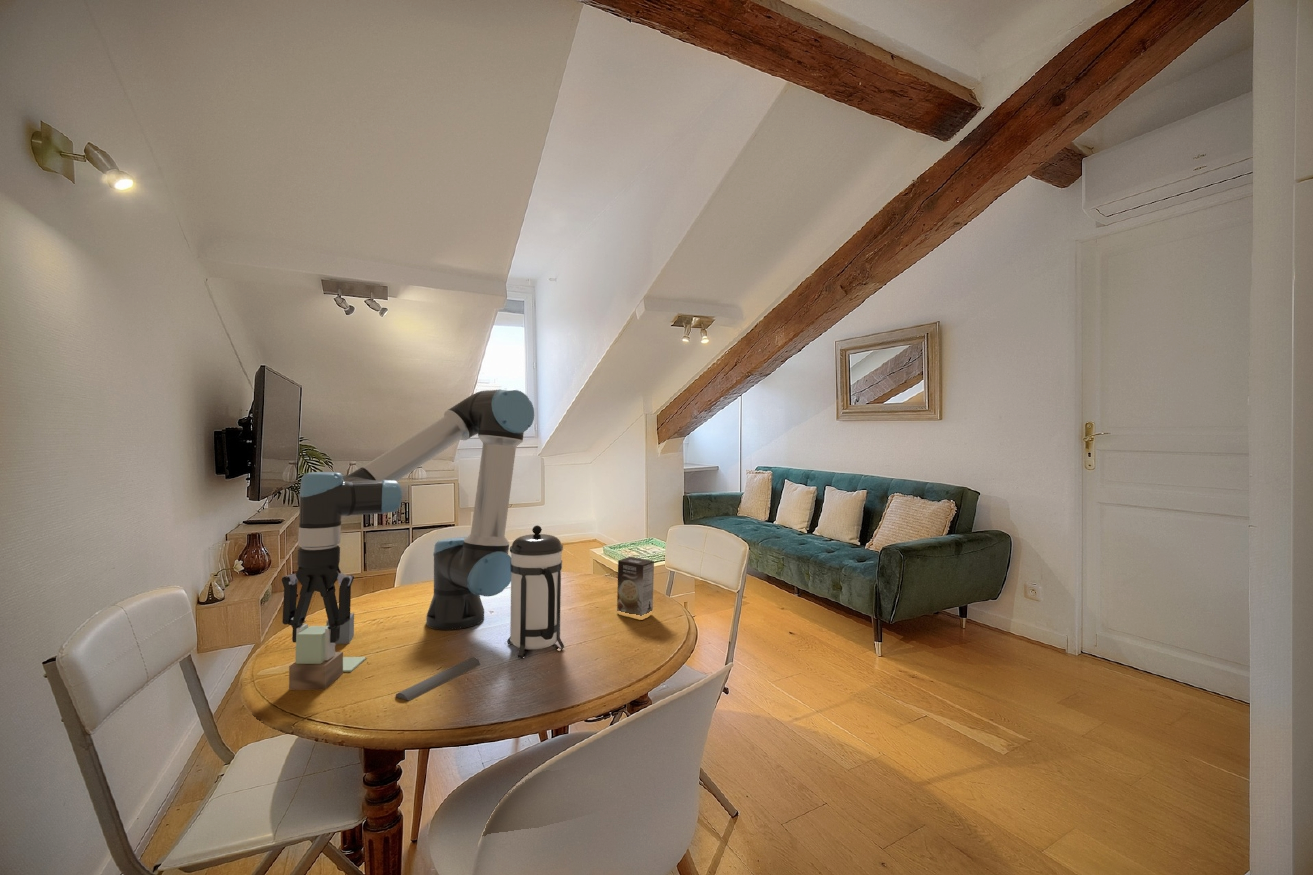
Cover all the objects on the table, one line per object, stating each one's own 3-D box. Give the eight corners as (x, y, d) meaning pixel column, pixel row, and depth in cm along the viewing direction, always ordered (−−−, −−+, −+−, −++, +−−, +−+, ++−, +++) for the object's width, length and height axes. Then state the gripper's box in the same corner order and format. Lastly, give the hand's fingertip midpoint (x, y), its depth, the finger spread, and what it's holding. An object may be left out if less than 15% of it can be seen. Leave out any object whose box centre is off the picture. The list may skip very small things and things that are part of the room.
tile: (366, 658, 124) (366, 656, 124) (350, 672, 117) (351, 670, 117) (335, 658, 124) (335, 657, 124) (317, 672, 117) (317, 670, 117)
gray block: (353, 636, 137) (354, 613, 137) (349, 643, 133) (349, 619, 133) (331, 638, 136) (331, 614, 136) (326, 645, 131) (326, 621, 131)
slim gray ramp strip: (393, 699, 106) (393, 690, 106) (467, 663, 124) (467, 655, 124) (408, 704, 105) (408, 695, 105) (481, 666, 122) (481, 658, 122)
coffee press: (488, 655, 127) (489, 528, 127) (526, 632, 142) (528, 519, 142) (552, 667, 121) (553, 534, 121) (585, 642, 136) (587, 523, 136)
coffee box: (615, 615, 156) (616, 560, 156) (628, 609, 162) (629, 556, 162) (641, 621, 151) (642, 564, 151) (654, 615, 157) (654, 560, 157)
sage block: (334, 654, 115) (334, 626, 115) (320, 663, 110) (321, 634, 110) (309, 654, 115) (310, 625, 115) (295, 663, 110) (296, 634, 110)
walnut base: (342, 674, 116) (343, 651, 116) (324, 690, 109) (325, 665, 109) (309, 675, 116) (309, 652, 116) (288, 690, 109) (289, 666, 109)
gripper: (372, 543, 117) (368, 651, 117) (286, 541, 116) (282, 650, 115) (354, 550, 109) (350, 665, 109) (262, 548, 108) (258, 664, 108)
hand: (315, 657), depth 112 cm, fingers closed on sage block, 5 cm apart
